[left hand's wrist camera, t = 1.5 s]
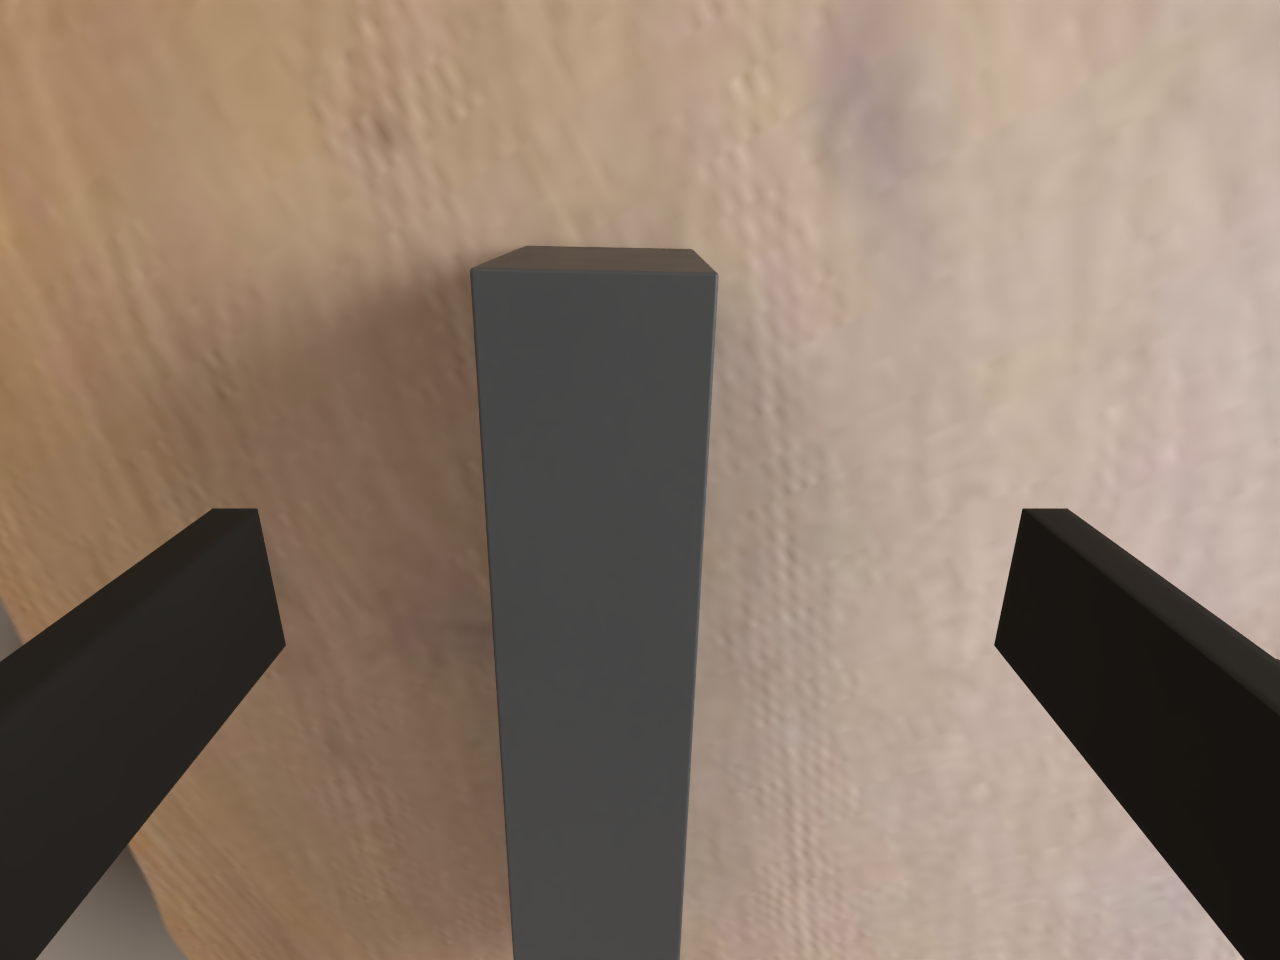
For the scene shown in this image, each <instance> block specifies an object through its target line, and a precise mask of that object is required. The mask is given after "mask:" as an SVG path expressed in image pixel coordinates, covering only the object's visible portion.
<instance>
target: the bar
mask: <svg viewBox="0 0 1280 960" xmlns="http://www.w3.org/2000/svg"><path fill="white" fill-rule="evenodd" d="M470 275H471V291H472V307H473V323H474V339H475V355H476V371H477V386H478V402H479V418H480V434H481V450H482V466H483V482H484V497H485V513H486V529H487V545H488V561H489V577H490V593H491V608H492V624H493V640H494V656H495V672H496V688H497V704H498V719H499V735H500V751H501V767H502V783H503V799H504V815H505V830H506V846H507V862H508V878H509V894H510V910H511V926H512V941H513V957H514V960H680V942H681V925H682V907H683V890H684V872H685V854H686V837H687V819H688V802H689V784H690V766H691V749H692V731H693V714H694V696H695V678H696V661H697V643H698V626H699V608H700V590H701V573H702V555H703V537H704V520H705V502H706V485H707V467H708V449H709V432H710V414H711V397H712V379H713V361H714V344H715V326H716V309H717V291H718V274H717V273H716V272H715V271H714V270H713V269H712V268H711V267H710V266H709V265H708V264H707V263H706V262H705V261H704V260H703V259H702V258H701V257H700V256H699V255H698V254H697V253H696V252H695V251H694V250H692V249H651V248H602V247H553V246H525V247H523V248H520V249H518V250H515V251H513V252H510V253H508V254H505V255H503V256H501V257H498V258H496V259H493V260H491V261H488V262H486V263H483V264H481V265H478V266H476V267H474V268H471V270H470Z"/></svg>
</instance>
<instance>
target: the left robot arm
mask: <svg viewBox="0 0 1280 960" xmlns="http://www.w3.org/2000/svg"><path fill="white" fill-rule="evenodd" d="M285 646H286V644H285V639H284V634H283V630H282V625H281V620H280V615H279V610H278V605H277V601H276V596H275V591H274V586H273V581H272V577H271V572H270V567H269V562H268V557H267V553H266V548H265V543H264V538H263V533H262V528H261V524H260V519H259V514H258V509H212V510H210V511H209V512H207V513H206V514H205V515H203V516H202V517H200V518H199V519H198V520H196V521H195V522H193V523H192V524H191V525H189V526H188V527H187V528H185V529H184V530H182V531H181V532H180V533H178V534H177V535H175V536H174V537H173V538H171V539H170V540H169V541H167V542H166V543H164V544H163V545H162V546H160V547H159V548H157V549H156V550H155V551H153V552H152V553H151V554H149V555H148V556H146V557H145V558H144V559H142V560H141V561H139V562H138V563H137V564H135V565H134V566H133V567H131V568H130V569H128V570H127V571H126V572H124V573H123V574H121V575H120V576H119V577H117V578H116V579H114V580H113V581H112V582H110V583H109V584H108V585H106V586H105V587H103V588H102V589H101V590H99V591H98V592H96V593H95V594H94V595H92V596H91V597H90V598H88V599H87V600H85V601H84V602H83V603H81V604H80V605H78V606H77V607H76V608H74V609H73V610H72V611H70V612H69V613H67V614H66V615H65V616H63V617H62V618H60V619H59V620H58V621H56V622H55V623H54V624H52V625H51V626H49V627H48V628H47V629H45V630H44V631H42V632H41V633H40V634H38V635H37V636H36V637H34V638H33V639H31V640H30V641H29V642H27V643H26V644H24V645H23V646H22V647H20V648H19V649H17V650H16V651H15V652H13V653H12V654H11V655H9V656H8V657H6V658H5V659H4V660H2V661H1V662H0V960H36V958H37V957H38V956H39V955H40V953H41V952H42V951H43V950H44V948H45V947H46V946H47V945H48V943H49V942H50V941H51V940H52V938H53V937H54V936H55V934H56V933H57V932H58V931H59V930H60V928H61V927H62V926H63V924H64V923H65V922H66V921H67V919H68V918H69V917H70V916H71V914H72V913H73V912H74V911H75V909H76V908H77V907H78V906H79V904H80V903H81V902H82V901H83V899H84V898H85V897H86V896H87V894H88V893H89V892H90V891H91V889H92V888H93V887H94V886H95V884H96V883H97V882H98V881H99V879H100V878H101V877H102V876H103V874H104V873H105V872H106V871H107V869H108V868H109V867H110V865H111V864H112V863H113V862H114V860H115V859H116V858H117V857H118V855H119V854H120V853H121V852H122V850H123V849H124V848H125V847H126V845H127V844H128V843H129V842H130V840H131V839H132V838H133V837H134V835H135V834H136V833H137V832H138V830H139V829H140V828H141V827H142V825H143V824H144V823H145V822H146V820H147V819H148V818H149V817H150V815H151V814H152V813H153V811H154V810H155V809H156V808H157V806H158V805H159V804H160V803H161V801H162V800H163V799H164V798H165V796H166V795H167V794H168V793H169V791H170V790H171V789H172V788H173V786H174V785H175V784H176V783H177V781H178V780H179V779H180V778H181V776H182V775H183V774H184V773H185V771H186V770H187V769H188V768H189V766H190V765H191V764H192V762H193V761H194V760H195V759H196V757H197V756H198V755H199V754H200V752H201V751H202V750H203V749H204V747H205V746H206V745H207V744H208V742H209V741H210V740H211V739H212V737H213V736H214V735H215V734H216V732H217V731H218V730H219V729H220V727H221V726H222V725H223V724H224V722H225V721H226V720H227V719H228V717H229V716H230V715H231V713H232V712H233V711H234V710H235V708H236V707H237V706H238V705H239V703H240V702H241V701H242V700H243V698H244V697H245V696H246V695H247V693H248V692H249V691H250V690H251V688H252V687H253V686H254V685H255V683H256V682H257V681H258V680H259V678H260V677H261V676H262V675H263V673H264V672H265V671H266V670H267V668H268V667H269V666H270V664H271V663H272V662H273V661H274V659H275V658H276V657H277V656H278V654H279V653H280V652H281V651H282V649H283V648H284V647H285ZM994 646H995V647H996V648H997V649H998V651H999V652H1000V653H1001V654H1002V656H1003V657H1004V658H1005V659H1006V661H1007V662H1008V663H1009V664H1010V666H1011V667H1012V668H1013V670H1014V671H1015V672H1016V673H1017V675H1018V676H1019V677H1020V678H1021V680H1022V681H1023V682H1024V683H1025V685H1026V686H1027V687H1028V688H1029V690H1030V691H1031V692H1032V693H1033V695H1034V696H1035V697H1036V698H1037V700H1038V701H1039V702H1040V703H1041V705H1042V706H1043V707H1044V708H1045V710H1046V711H1047V712H1048V713H1049V715H1050V716H1051V717H1052V719H1053V720H1054V721H1055V722H1056V724H1057V725H1058V726H1059V727H1060V729H1061V730H1062V731H1063V732H1064V734H1065V735H1066V736H1067V737H1068V739H1069V740H1070V741H1071V742H1072V744H1073V745H1074V746H1075V747H1076V749H1077V750H1078V751H1079V752H1080V754H1081V755H1082V756H1083V757H1084V759H1085V760H1086V761H1087V762H1088V764H1089V765H1090V766H1091V768H1092V769H1093V770H1094V771H1095V773H1096V774H1097V775H1098V776H1099V778H1100V779H1101V780H1102V781H1103V783H1104V784H1105V785H1106V786H1107V788H1108V789H1109V790H1110V791H1111V793H1112V794H1113V795H1114V796H1115V798H1116V799H1117V800H1118V801H1119V803H1120V804H1121V805H1122V806H1123V808H1124V809H1125V810H1126V811H1127V813H1128V814H1129V815H1130V817H1131V818H1132V819H1133V820H1134V822H1135V823H1136V824H1137V825H1138V827H1139V828H1140V829H1141V830H1142V832H1143V833H1144V834H1145V835H1146V837H1147V838H1148V839H1149V840H1150V842H1151V843H1152V844H1153V845H1154V847H1155V848H1156V849H1157V850H1158V852H1159V853H1160V854H1161V855H1162V857H1163V858H1164V859H1165V860H1166V862H1167V863H1168V864H1169V866H1170V867H1171V868H1172V869H1173V871H1174V872H1175V873H1176V874H1177V876H1178V877H1179V878H1180V879H1181V881H1182V882H1183V883H1184V884H1185V886H1186V887H1187V888H1188V889H1189V891H1190V892H1191V893H1192V894H1193V896H1194V897H1195V898H1196V899H1197V901H1198V902H1199V903H1200V904H1201V906H1202V907H1203V908H1204V909H1205V911H1206V912H1207V913H1208V914H1209V916H1210V917H1211V918H1212V920H1213V921H1214V922H1215V923H1216V925H1217V926H1218V927H1219V928H1220V930H1221V931H1222V932H1223V933H1224V935H1225V936H1226V937H1227V938H1228V940H1229V941H1230V942H1231V943H1232V945H1233V946H1234V947H1235V948H1236V950H1237V951H1238V952H1239V953H1240V955H1241V956H1242V957H1243V958H1244V960H1280V660H1278V659H1275V658H1274V657H1272V656H1271V655H1269V654H1268V653H1267V652H1265V651H1264V650H1263V649H1261V648H1260V647H1258V646H1257V645H1256V644H1254V643H1253V642H1251V641H1250V640H1249V639H1247V638H1246V637H1244V636H1243V635H1242V634H1240V633H1239V632H1238V631H1236V630H1235V629H1233V628H1232V627H1231V626H1229V625H1228V624H1226V623H1225V622H1224V621H1222V620H1221V619H1220V618H1218V617H1217V616H1215V615H1214V614H1213V613H1211V612H1210V611H1208V610H1207V609H1206V608H1204V607H1203V606H1202V605H1200V604H1199V603H1197V602H1196V601H1195V600H1193V599H1192V598H1190V597H1189V596H1188V595H1186V594H1185V593H1184V592H1182V591H1181V590H1179V589H1178V588H1177V587H1175V586H1174V585H1172V584H1171V583H1170V582H1168V581H1167V580H1165V579H1164V578H1163V577H1161V576H1160V575H1159V574H1157V573H1156V572H1154V571H1153V570H1152V569H1150V568H1149V567H1147V566H1146V565H1145V564H1143V563H1142V562H1141V561H1139V560H1138V559H1136V558H1135V557H1134V556H1132V555H1131V554H1129V553H1128V552H1127V551H1125V550H1124V549H1123V548H1121V547H1120V546H1118V545H1117V544H1116V543H1114V542H1113V541H1111V540H1110V539H1109V538H1107V537H1106V536H1105V535H1103V534H1102V533H1100V532H1099V531H1098V530H1096V529H1095V528H1093V527H1092V526H1091V525H1089V524H1088V523H1087V522H1085V521H1084V520H1082V519H1081V518H1080V517H1078V516H1077V515H1075V514H1074V513H1073V512H1071V511H1070V510H1068V509H1022V514H1021V519H1020V524H1019V528H1018V533H1017V538H1016V543H1015V548H1014V553H1013V557H1012V562H1011V567H1010V572H1009V577H1008V581H1007V586H1006V591H1005V596H1004V601H1003V605H1002V610H1001V615H1000V620H999V625H998V630H997V634H996V639H995V644H994Z"/></svg>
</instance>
